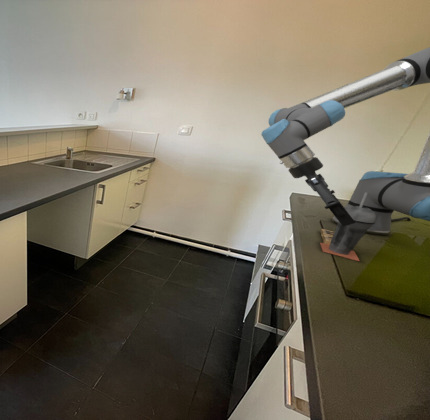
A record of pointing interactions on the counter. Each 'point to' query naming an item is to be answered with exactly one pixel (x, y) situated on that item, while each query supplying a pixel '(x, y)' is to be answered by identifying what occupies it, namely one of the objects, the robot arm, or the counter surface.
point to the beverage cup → (352, 229)
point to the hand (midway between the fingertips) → (344, 218)
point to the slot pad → (326, 249)
